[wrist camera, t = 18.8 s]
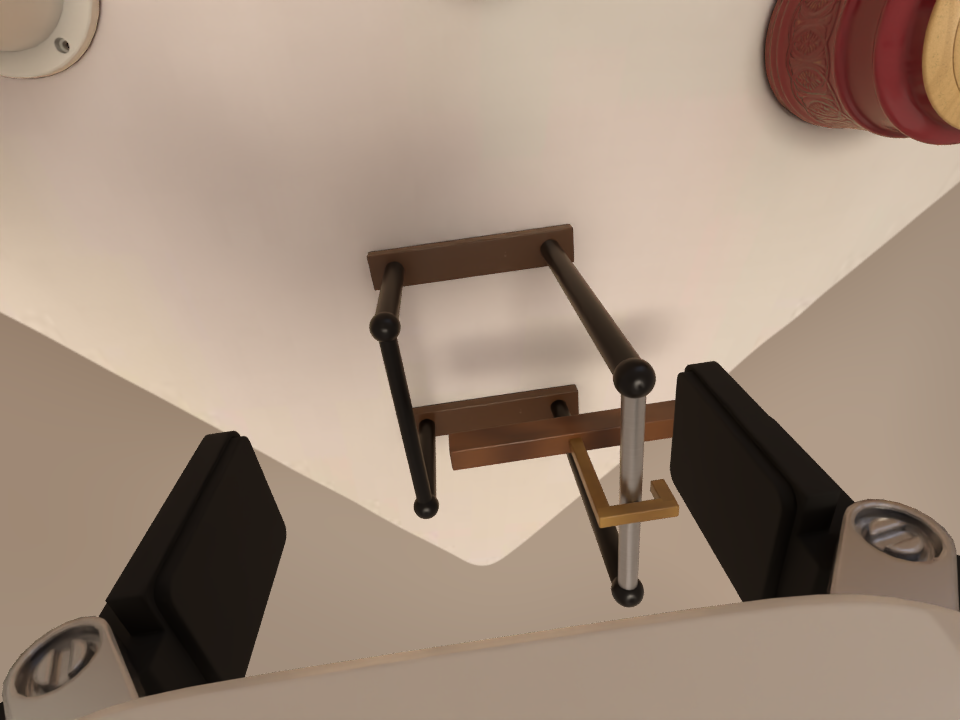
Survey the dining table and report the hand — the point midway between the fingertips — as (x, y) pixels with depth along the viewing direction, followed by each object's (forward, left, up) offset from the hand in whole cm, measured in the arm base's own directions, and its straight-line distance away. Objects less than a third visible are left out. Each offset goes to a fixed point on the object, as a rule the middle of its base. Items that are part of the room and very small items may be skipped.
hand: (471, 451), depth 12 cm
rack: (+2, -15, -34) cm, 37 cm away
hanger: (+8, -15, -19) cm, 25 cm away
